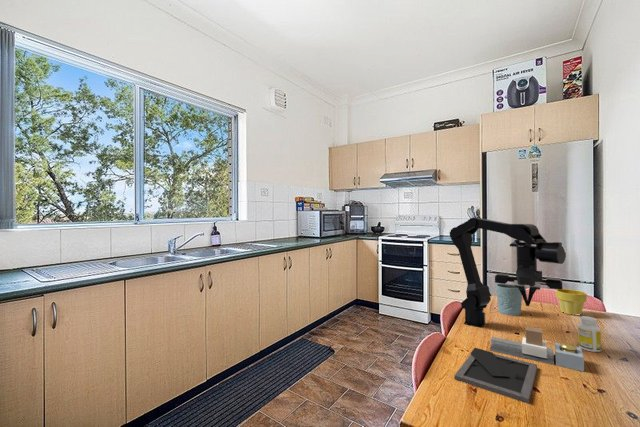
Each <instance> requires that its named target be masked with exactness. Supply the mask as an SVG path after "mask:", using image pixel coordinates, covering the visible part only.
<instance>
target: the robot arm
mask: <svg viewBox="0 0 640 427" xmlns="http://www.w3.org/2000/svg"><path fill="white" fill-rule="evenodd" d="M479 229H481V230H485V231H491V232H495V233H499V234H503V235H506V236H508V237H510V238H512V239H514V240H513V241H512V242H511V243H510V244H509V247H515V248H516V250H515V251H516V271H515V276H510V274H509V273H503V272H502V273H501V272H498V273H496V274H495V276H494V283H495V284H508V282H509V283H510V282H511V283H514V284H513V285H514V287H517V288H518V289H519V290H520V292H521V294H522V300H523V301H524V303H525V307H530V305H531V303H532V300H533V296H534V294H535V293H536V291H538V290H540V291H541V287H542V286H547V287H548V288H549V289H552V290H553V289H554V290H557V289H563V281H562V279H561V278H558V277H550V276H547V277H546V279H543V271H542V270H538V261H539V262H541V263H548V264H549V263H550V264H556V265H557V264H559V265H563V264H564V263H565V261H566V256H567V253H566V252H565V248H564V247H563V243H562V242H561V241H559V242H558V241H557V242H556V241H555V242H549V241H547V240H546V239H545V238H544V237H543V236H542V235H541V233H540V230H539V228H538V227H537V225H535V224H532V223H507V222H503V221H498V220H497V221H496V220H491V219H485V218H482V217H471V218H469V219H468V220H467V221H464V222H463V223H460V224H459V225H458V226H454V227H453V228H451V229H450V231H449V238H450V240H451V242H452V244H453V245H454V246H455V247H456V248H457V251H458V252H459V257H460V261H461V265H462V268H463V270H464V275H465V278H466V279H465V280H466V282H467V285H466V291H465V294H466V298H464V300H463V301H461V302H460V304H461V308H462V309H464V322H463V324H464V325H468V326H473V327H478V328H483V327H484V326H485V324H486V312H484V311H485V310H484V309H486V308H487V306H488V304H489V303H490V302H491V301H492V299H491V297H492V294H491V291H490V287H489V286H488V285H484V283H482V281H481V277H480V274H479V271H478V266H477V264H476V260H475V257H474V254H473V249H472V243H473V235H474V234H475V233H477V232H478V230H479ZM537 260H538V261H537ZM526 286H529V289H528V294H527V290H526V289H527V288H526Z"/></svg>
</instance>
